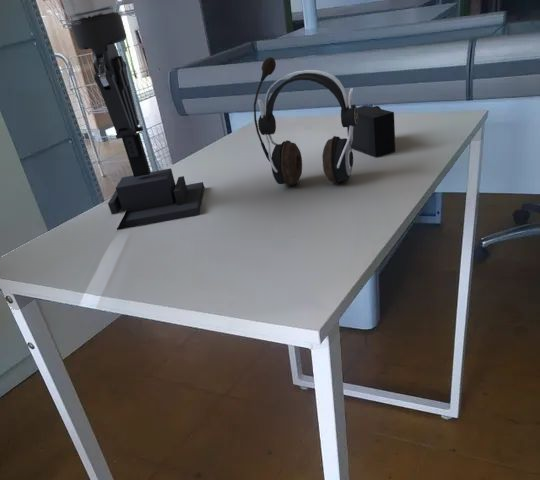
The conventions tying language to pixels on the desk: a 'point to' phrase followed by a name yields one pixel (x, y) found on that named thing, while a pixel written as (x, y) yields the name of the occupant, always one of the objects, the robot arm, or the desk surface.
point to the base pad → (183, 207)
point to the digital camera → (374, 131)
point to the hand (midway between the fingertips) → (142, 174)
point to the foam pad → (146, 191)
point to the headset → (288, 154)
